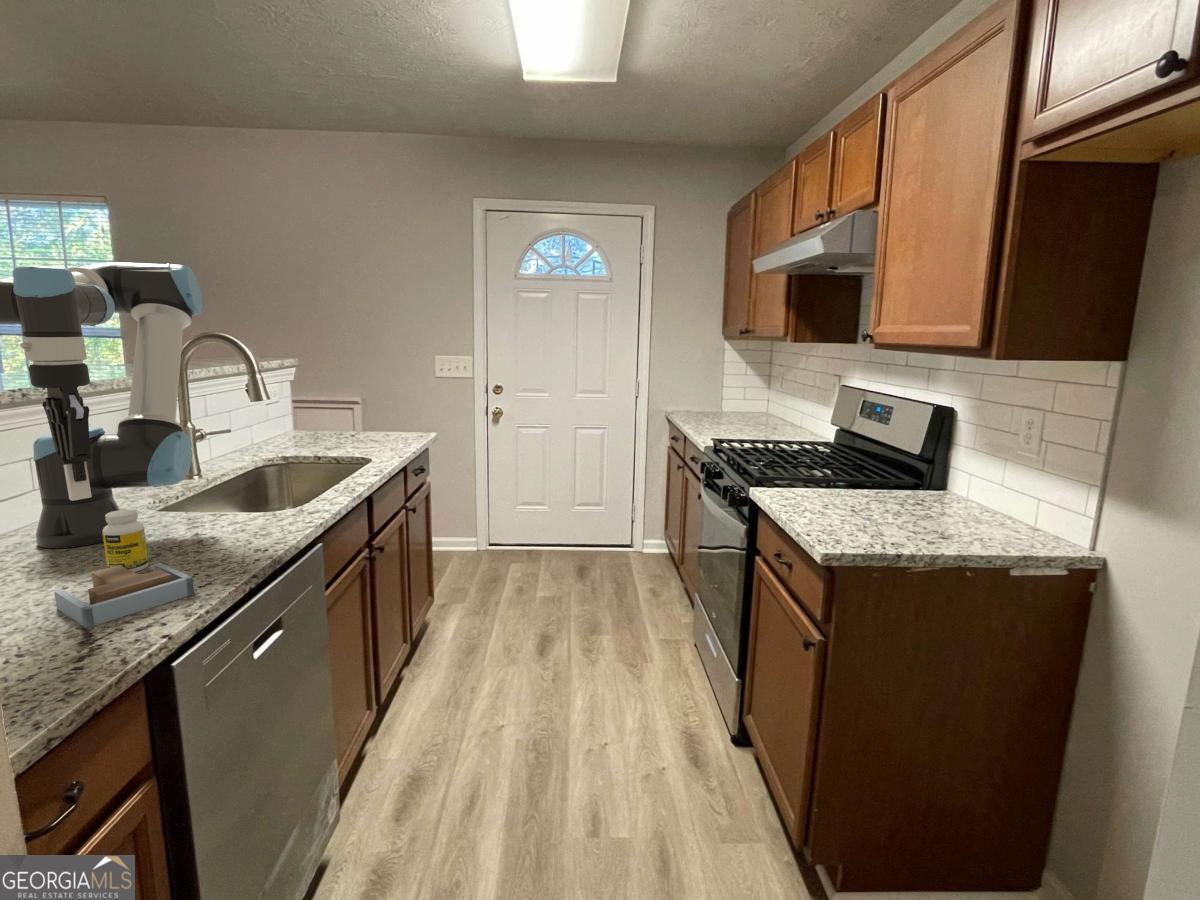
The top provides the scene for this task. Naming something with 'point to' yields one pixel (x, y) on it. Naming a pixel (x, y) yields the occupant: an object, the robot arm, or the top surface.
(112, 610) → the dock
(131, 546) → the pill bottle
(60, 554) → the top surface
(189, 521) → the top surface
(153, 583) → the t block
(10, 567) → the top surface
